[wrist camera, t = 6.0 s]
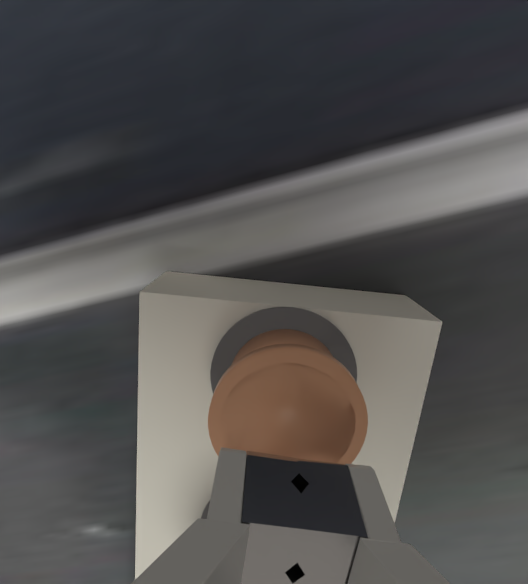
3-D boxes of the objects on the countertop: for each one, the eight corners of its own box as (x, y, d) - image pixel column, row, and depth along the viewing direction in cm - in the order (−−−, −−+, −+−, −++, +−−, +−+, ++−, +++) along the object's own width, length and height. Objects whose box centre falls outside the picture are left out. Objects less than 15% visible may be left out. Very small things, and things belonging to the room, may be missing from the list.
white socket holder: (166, 271, 18) (137, 292, 14) (405, 295, 18) (444, 323, 14) (155, 602, 24) (132, 686, 20) (338, 618, 24) (353, 704, 20)
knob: (224, 312, 14) (213, 343, 11) (358, 326, 14) (381, 359, 11) (215, 430, 15) (203, 484, 13) (337, 441, 16) (353, 498, 13)
